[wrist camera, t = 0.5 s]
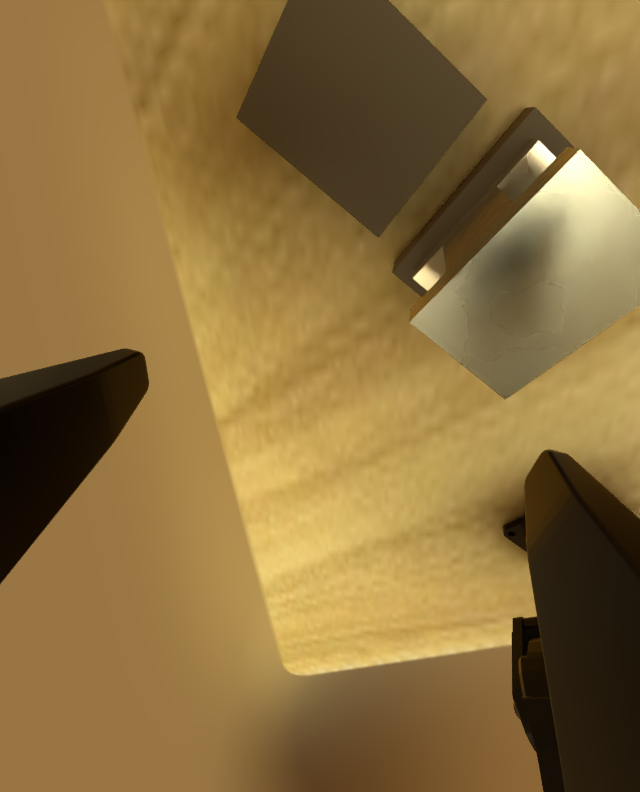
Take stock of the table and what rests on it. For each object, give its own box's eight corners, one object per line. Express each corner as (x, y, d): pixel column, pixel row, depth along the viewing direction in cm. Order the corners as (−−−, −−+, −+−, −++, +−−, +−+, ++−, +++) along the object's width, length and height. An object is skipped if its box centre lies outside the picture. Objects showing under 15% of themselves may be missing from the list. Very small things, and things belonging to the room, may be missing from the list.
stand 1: (482, 100, 15) (487, 99, 14) (381, 229, 18) (378, 237, 17) (328, -53, 13) (318, -70, 12) (249, 117, 17) (236, 117, 16)
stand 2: (627, 210, 16) (643, 219, 15) (481, 335, 20) (484, 349, 19) (526, 108, 15) (535, 107, 13) (394, 262, 19) (392, 272, 18)
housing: (614, 222, 15) (693, 266, 10) (486, 331, 18) (504, 399, 14) (531, 138, 14) (580, 149, 10) (413, 270, 17) (409, 322, 13)
